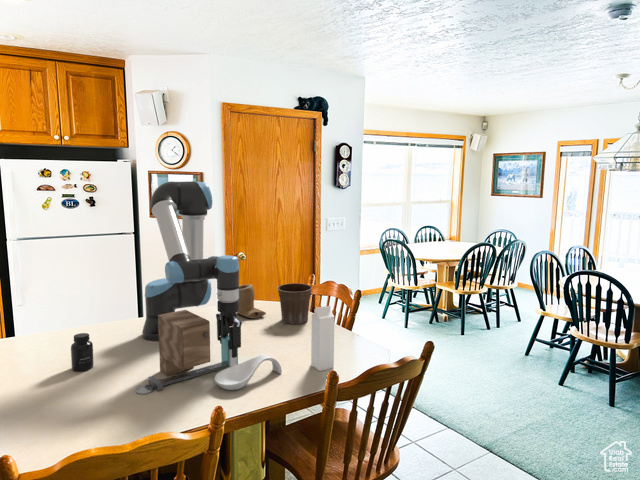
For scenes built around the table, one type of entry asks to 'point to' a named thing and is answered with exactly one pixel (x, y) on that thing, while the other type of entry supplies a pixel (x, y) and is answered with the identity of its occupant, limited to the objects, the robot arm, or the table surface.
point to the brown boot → (248, 302)
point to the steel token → (144, 389)
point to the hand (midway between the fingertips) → (229, 363)
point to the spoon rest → (243, 372)
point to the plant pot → (294, 302)
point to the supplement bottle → (82, 353)
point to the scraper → (224, 363)
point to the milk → (322, 339)
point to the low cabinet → (183, 341)
